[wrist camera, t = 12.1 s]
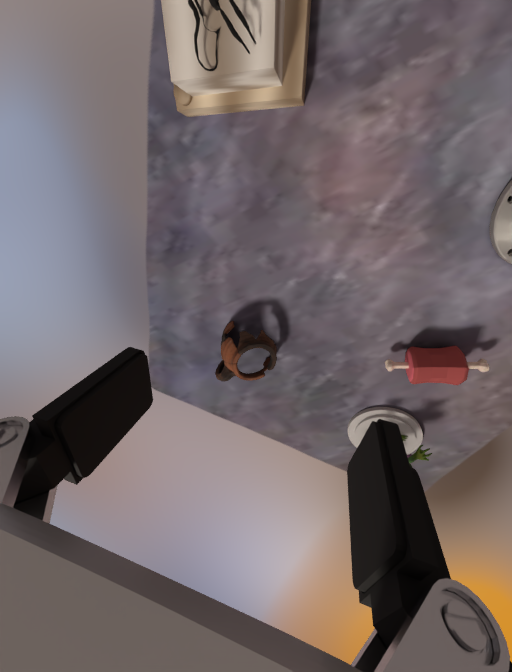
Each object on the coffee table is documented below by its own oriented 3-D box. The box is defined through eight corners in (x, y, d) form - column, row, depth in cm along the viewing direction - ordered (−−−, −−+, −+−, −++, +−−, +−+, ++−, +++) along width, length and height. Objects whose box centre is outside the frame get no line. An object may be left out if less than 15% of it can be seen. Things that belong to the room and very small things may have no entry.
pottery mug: (237, 304, 41) (248, 329, 34) (277, 328, 45) (294, 354, 39) (198, 355, 44) (202, 387, 38) (239, 372, 49) (249, 403, 42)
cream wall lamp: (317, -78, 21) (310, -187, 15) (304, 107, 27) (296, 80, 21) (173, -40, 24) (122, -116, 18) (190, 118, 30) (155, 97, 24)
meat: (486, 338, 32) (505, 368, 28) (474, 362, 35) (489, 392, 32) (384, 341, 36) (389, 368, 32) (381, 362, 39) (386, 389, 35)
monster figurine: (395, 462, 47) (408, 521, 38) (336, 436, 48) (336, 488, 39) (437, 425, 41) (465, 486, 32) (368, 396, 42) (378, 447, 33)
